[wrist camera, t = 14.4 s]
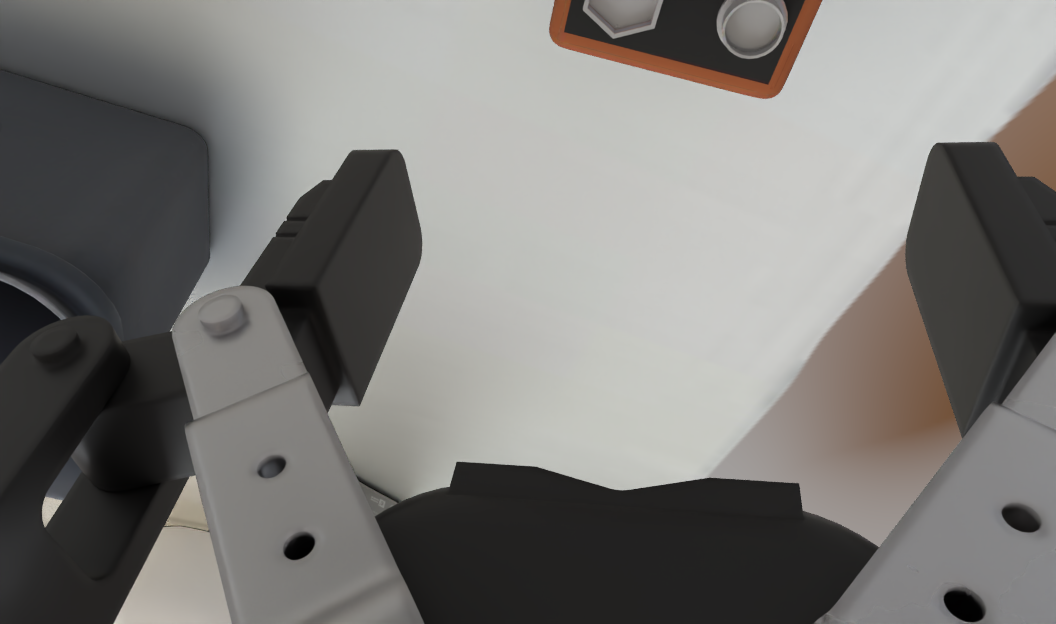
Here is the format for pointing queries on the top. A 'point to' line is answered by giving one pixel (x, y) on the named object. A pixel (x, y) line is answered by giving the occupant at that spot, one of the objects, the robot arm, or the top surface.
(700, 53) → the battery
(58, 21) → the top surface
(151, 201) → the storage bin
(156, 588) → the teardrop
